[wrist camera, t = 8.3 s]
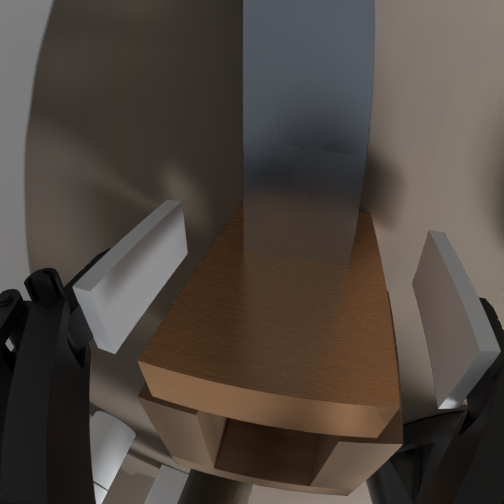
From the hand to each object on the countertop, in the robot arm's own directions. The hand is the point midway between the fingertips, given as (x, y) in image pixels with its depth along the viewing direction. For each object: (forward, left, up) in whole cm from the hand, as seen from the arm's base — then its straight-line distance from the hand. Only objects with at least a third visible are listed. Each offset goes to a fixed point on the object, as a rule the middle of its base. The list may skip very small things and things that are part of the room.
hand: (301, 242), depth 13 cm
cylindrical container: (+24, +36, -3) cm, 44 cm away
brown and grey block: (0, -4, -2) cm, 5 cm away
